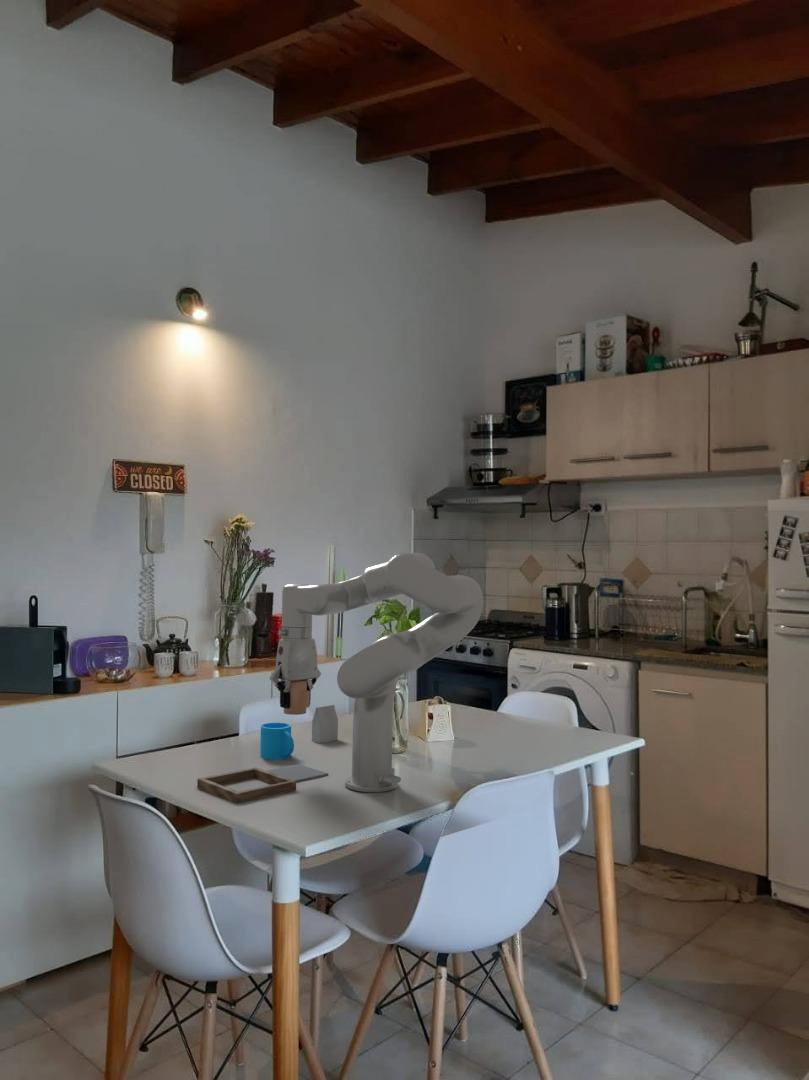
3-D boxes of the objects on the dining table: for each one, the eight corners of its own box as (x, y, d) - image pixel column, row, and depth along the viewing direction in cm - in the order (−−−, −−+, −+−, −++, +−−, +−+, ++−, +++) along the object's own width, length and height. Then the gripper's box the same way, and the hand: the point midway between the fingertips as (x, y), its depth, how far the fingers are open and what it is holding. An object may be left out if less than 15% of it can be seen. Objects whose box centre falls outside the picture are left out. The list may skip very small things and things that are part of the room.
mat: (327, 775, 222) (328, 773, 222) (288, 783, 213) (288, 781, 213) (298, 766, 230) (298, 764, 230) (259, 773, 222) (259, 771, 222)
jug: (279, 712, 222) (279, 680, 222) (297, 709, 226) (297, 677, 226) (298, 717, 216) (299, 684, 216) (316, 714, 220) (317, 681, 220)
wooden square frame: (296, 789, 208) (296, 781, 208) (236, 802, 197) (236, 793, 197) (255, 775, 220) (255, 767, 220) (197, 787, 209) (197, 778, 209)
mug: (254, 755, 241) (254, 725, 241) (279, 750, 247) (279, 721, 247) (279, 763, 232) (280, 732, 232) (305, 759, 238) (305, 728, 238)
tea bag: (337, 739, 262) (338, 705, 262) (320, 743, 257) (320, 708, 257) (329, 737, 264) (329, 704, 264) (311, 741, 260) (312, 706, 260)
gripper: (277, 637, 213) (275, 712, 213) (333, 633, 225) (331, 704, 225) (259, 634, 219) (257, 708, 219) (314, 630, 231) (313, 700, 231)
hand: (295, 705), depth 222 cm, fingers closed on jug, 5 cm apart
